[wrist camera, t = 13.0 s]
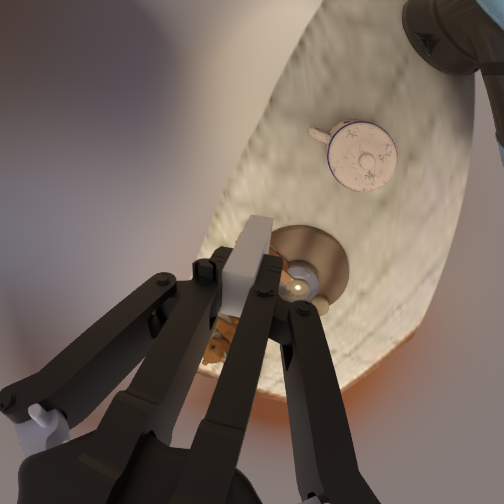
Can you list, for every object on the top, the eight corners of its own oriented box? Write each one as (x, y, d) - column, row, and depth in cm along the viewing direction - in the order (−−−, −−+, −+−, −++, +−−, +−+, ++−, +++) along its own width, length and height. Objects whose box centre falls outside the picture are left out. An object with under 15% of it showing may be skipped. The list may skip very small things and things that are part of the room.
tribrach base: (359, 236, 45) (363, 248, 41) (333, 313, 54) (333, 327, 51) (256, 216, 47) (252, 227, 44) (247, 297, 57) (243, 310, 53)
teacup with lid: (390, 134, 35) (416, 146, 25) (367, 184, 40) (384, 212, 30) (318, 100, 35) (322, 98, 25) (297, 153, 40) (293, 171, 30)
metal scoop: (326, 278, 48) (327, 292, 44) (298, 298, 51) (296, 312, 48) (257, 215, 44) (252, 226, 41) (231, 241, 48) (224, 253, 45)
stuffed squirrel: (236, 292, 57) (218, 339, 46) (268, 336, 62) (258, 383, 51) (200, 304, 61) (177, 347, 50) (233, 344, 66) (218, 388, 55)
